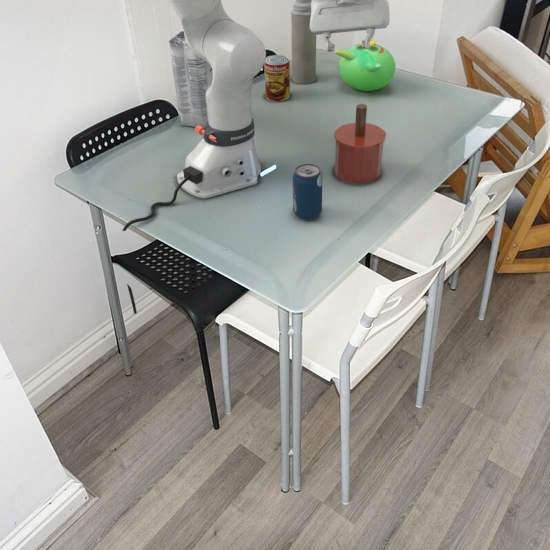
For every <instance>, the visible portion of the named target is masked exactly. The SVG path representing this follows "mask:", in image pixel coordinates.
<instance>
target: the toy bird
mask: <svg viewBox="0 0 550 550" xmlns="http://www.w3.org/2000/svg"><path fill="white" fill-rule="evenodd" d="M376 42H377V40H376V39H371V41H370V48H369V49H362V47H361V46H362V43H358V44H354V45H352V46H350V47H348V48H347V49H346V50H345V49H336V50H334V53H335V54H336V55H338V56H339V57H340V59H339V63H338V72H339V76H340V77H341V79H342V80H343V82H344V83H345V84H346V85H348V86H349V87H351V88H353V89H355V90H358V91H362V92H371V91H377V90H380V89H382V88H384V87H386V86H387V85H389V83H390V82H391V81H392V79H393V77H394V76H395V73H396V61H395V59H394V56H393V54H392V53H391V51H389V50H388V49H387V48H385V47H384V46H382V45H379V44H376Z"/></svg>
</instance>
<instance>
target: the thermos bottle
mask: <svg viewBox="0 0 550 550" xmlns="http://www.w3.org/2000/svg"><path fill="white" fill-rule="evenodd" d="M311 2H312V0H295V1H294V2H293V3H292V5H293V6H292V9H291V11H290V14H291V15H290V16H291V20H290V21H291V79H292V82H294V83H296V84H299V85H300V84H301V85H308V84H311V83H314V82H315V81H316V79H317V34H314V33H312V32H311V30H310V17H311Z"/></svg>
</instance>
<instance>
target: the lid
mask: <svg viewBox="0 0 550 550" xmlns="http://www.w3.org/2000/svg"><path fill="white" fill-rule="evenodd" d="M367 114H368V105H367V104H365V103H358V104H357V105H356V107H355V121H354V122H351V123H350V122H349V123H346V124H343V125H340V126H339V127H337V128H336V129H335V130H334V134H333V135H334V140H335V142H336V141H337V142H338V143H340V144H341V145H343V146H346V147H350V148H356V149H366V148H372V147H376V146H378V145H380V144H382V143H383V144H384V142H385V141H386V138H387V134H386V132H385V130H384V129H383V128H382V127H380V126H378V125H376V124H374V123H373V124H372V123H369V122H367V116H368V115H367Z"/></svg>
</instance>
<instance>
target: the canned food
mask: <svg viewBox="0 0 550 550" xmlns="http://www.w3.org/2000/svg"><path fill="white" fill-rule="evenodd" d="M290 63H291V62H290V58H289V56H286V55H283V54H272V55H269V56H266V59H265V63H264V65H263V68H264V88H265V92H264V93H265V99H266V100H268V101H270V102H275V103H276V102H277V103H278V102H279V103H280V102H285V101H287V100H289V99H290V97H291V75H290V72H291V71H290V70H291V69H290Z"/></svg>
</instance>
